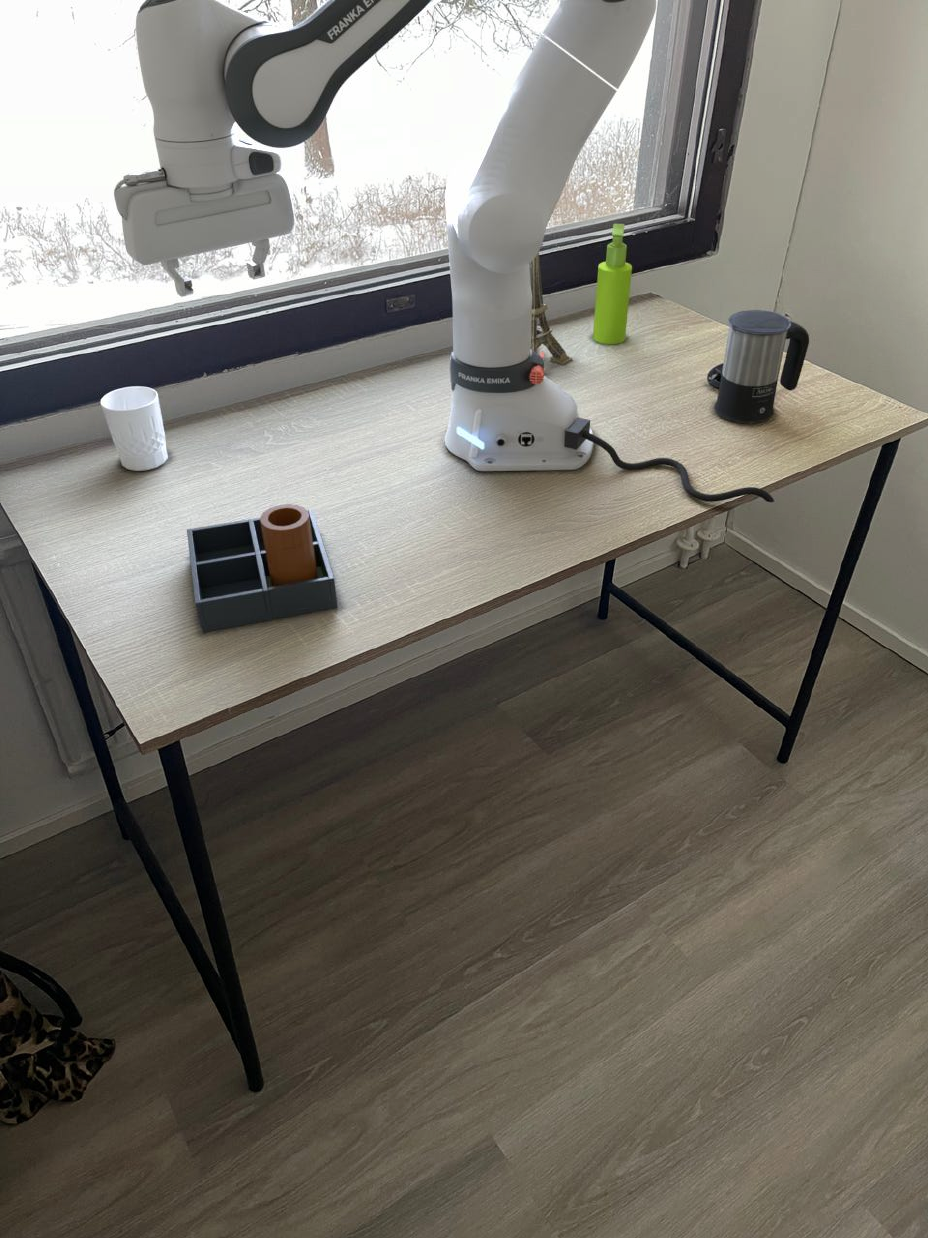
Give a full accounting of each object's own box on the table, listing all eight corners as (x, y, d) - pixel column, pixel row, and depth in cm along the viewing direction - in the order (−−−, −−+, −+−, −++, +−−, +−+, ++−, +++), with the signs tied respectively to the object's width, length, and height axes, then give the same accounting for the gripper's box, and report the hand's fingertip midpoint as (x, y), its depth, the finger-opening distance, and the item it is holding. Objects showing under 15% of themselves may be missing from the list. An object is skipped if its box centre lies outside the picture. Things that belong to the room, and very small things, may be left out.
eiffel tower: (572, 359, 166) (581, 210, 150) (535, 379, 160) (540, 226, 144) (525, 344, 171) (529, 199, 155) (488, 362, 165) (488, 213, 149)
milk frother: (747, 430, 144) (765, 337, 135) (669, 396, 154) (681, 307, 144) (803, 404, 151) (824, 313, 142) (725, 372, 161) (740, 285, 151)
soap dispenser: (591, 345, 170) (600, 231, 158) (593, 330, 176) (602, 219, 163) (624, 347, 169) (635, 232, 157) (625, 332, 175) (636, 220, 162)
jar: (323, 575, 115) (314, 505, 108) (311, 602, 110) (301, 531, 104) (280, 572, 115) (268, 502, 109) (266, 599, 111) (253, 528, 105)
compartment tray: (316, 536, 123) (312, 508, 120) (337, 607, 111) (334, 578, 109) (193, 557, 120) (186, 529, 117) (202, 632, 108) (195, 603, 105)
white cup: (143, 478, 135) (127, 415, 129) (106, 464, 139) (88, 402, 132) (183, 455, 141) (169, 393, 134) (146, 442, 144) (130, 381, 138)
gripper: (120, 183, 98) (150, 313, 107) (293, 153, 108) (307, 274, 116) (99, 171, 102) (129, 297, 111) (267, 143, 112) (283, 261, 120)
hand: (221, 285), depth 114 cm, fingers open, 8 cm apart
